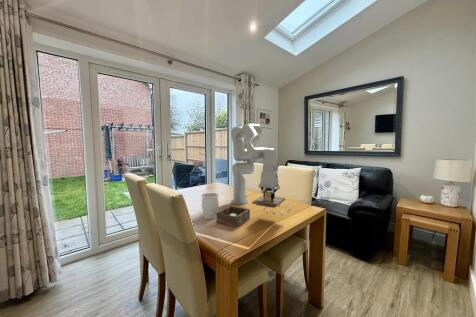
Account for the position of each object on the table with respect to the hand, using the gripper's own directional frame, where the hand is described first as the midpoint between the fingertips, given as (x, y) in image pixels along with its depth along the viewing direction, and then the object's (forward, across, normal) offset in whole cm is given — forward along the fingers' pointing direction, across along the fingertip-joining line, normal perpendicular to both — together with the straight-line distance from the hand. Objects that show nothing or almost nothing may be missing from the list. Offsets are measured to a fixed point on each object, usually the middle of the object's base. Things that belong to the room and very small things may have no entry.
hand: (269, 198), depth 130 cm
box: (+14, +18, +12) cm, 26 cm away
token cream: (+13, +20, +9) cm, 26 cm away
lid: (+2, 0, 0) cm, 2 cm away
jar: (+14, +35, +13) cm, 40 cm away
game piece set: (+15, +3, -23) cm, 28 cm away
